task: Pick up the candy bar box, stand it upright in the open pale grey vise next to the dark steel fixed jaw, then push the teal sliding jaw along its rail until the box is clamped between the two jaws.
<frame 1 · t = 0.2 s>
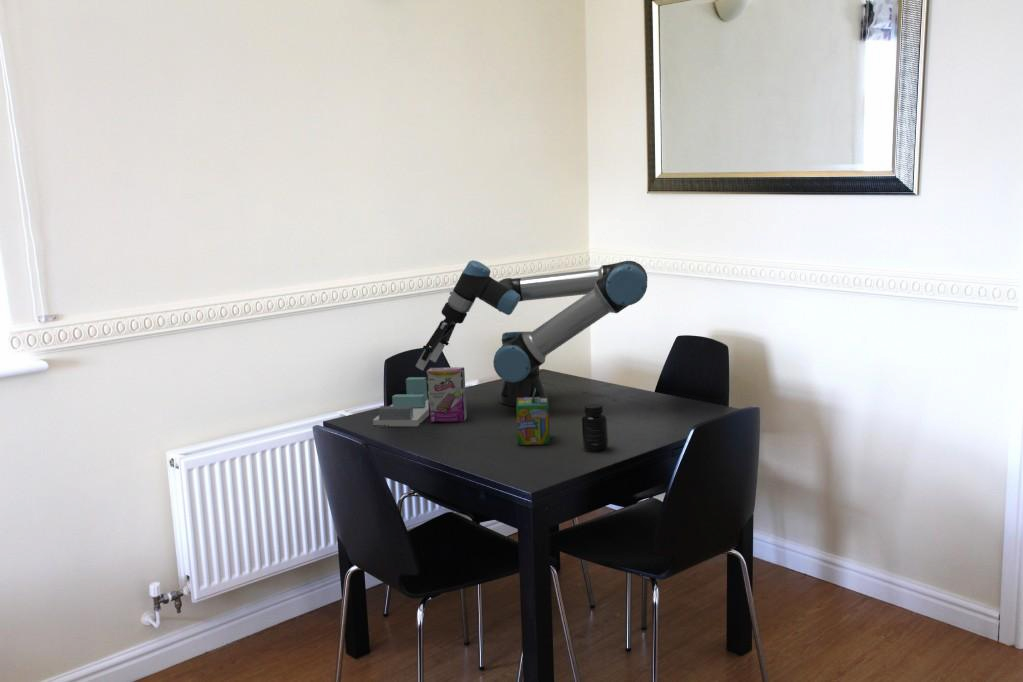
hand: (425, 364, 295), 16 cm above the table, tool tilted 30°, fingers open, 13 cm apart
supplement bottle: (595, 449, 251), on the table
candy bar box: (448, 421, 286), on the table
sliding jaw: (412, 392, 301), point 6 cm above the table, slide at 0.0 cm
chalk box: (533, 441, 261), on the table
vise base: (403, 418, 291), on the table
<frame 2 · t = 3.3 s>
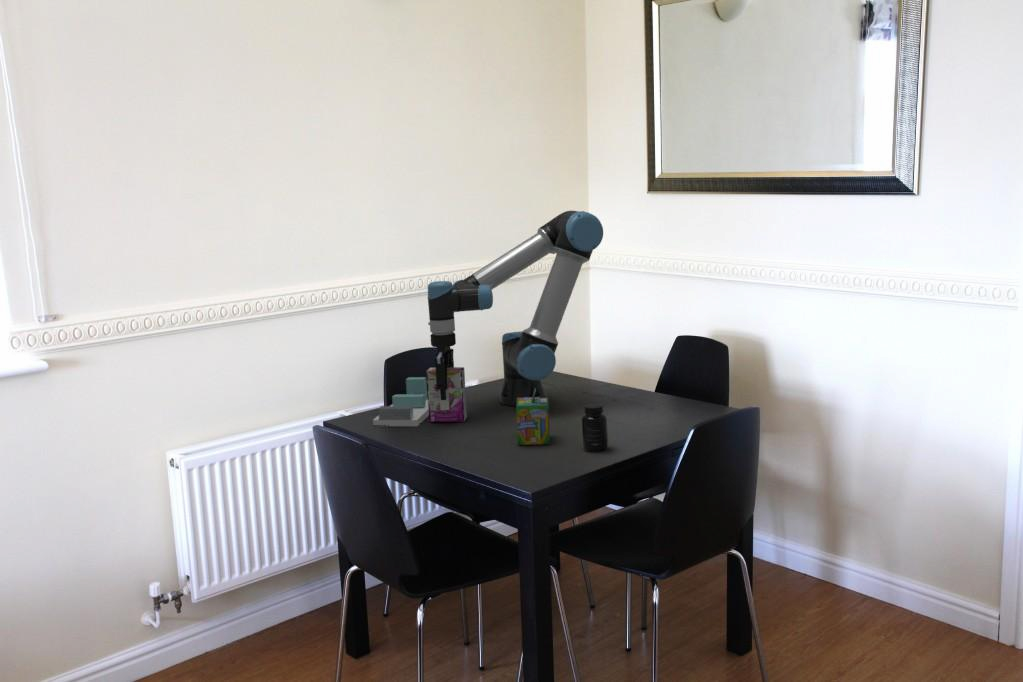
hand: (447, 407, 286), 4 cm above the table, tool pointing down, fingers closed on candy bar box, 5 cm apart
candy bar box: (448, 421, 286), on the table, touching gripper
everything else where it was.
when the fingers open (8 cm above the table, at t = 8.7 s): candy bar box drops 1 cm, resting on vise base.
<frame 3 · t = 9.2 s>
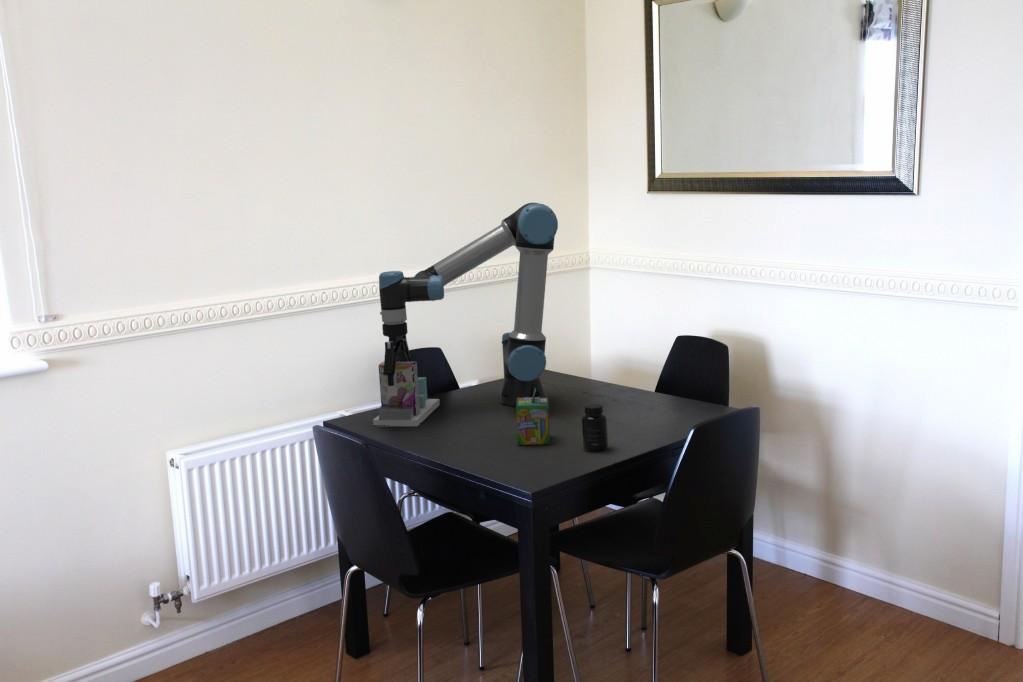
hand: (399, 390, 287), 10 cm above the table, tool pointing down, fingers open, 13 cm apart
candy bar box: (401, 415, 289), point 2 cm above the table, touching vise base
everything else where it was.
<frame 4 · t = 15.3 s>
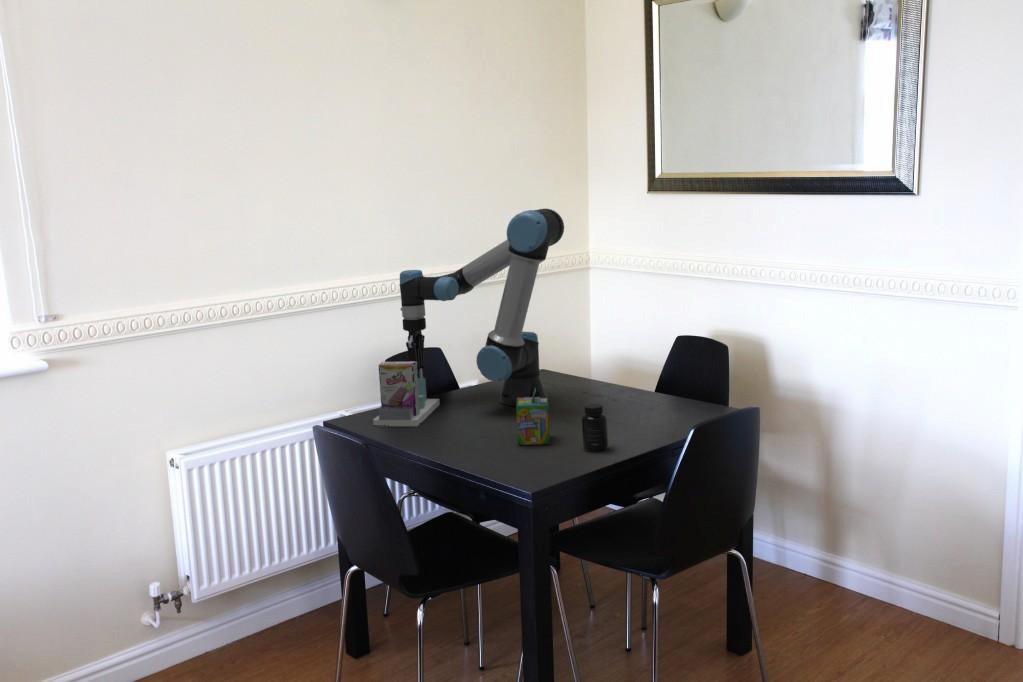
hand: (418, 388, 308), 5 cm above the table, tool pointing down, fingers closed
sliding jaw: (411, 392, 300), point 6 cm above the table, slide at 0.9 cm, touching gripper
everything else where it was.
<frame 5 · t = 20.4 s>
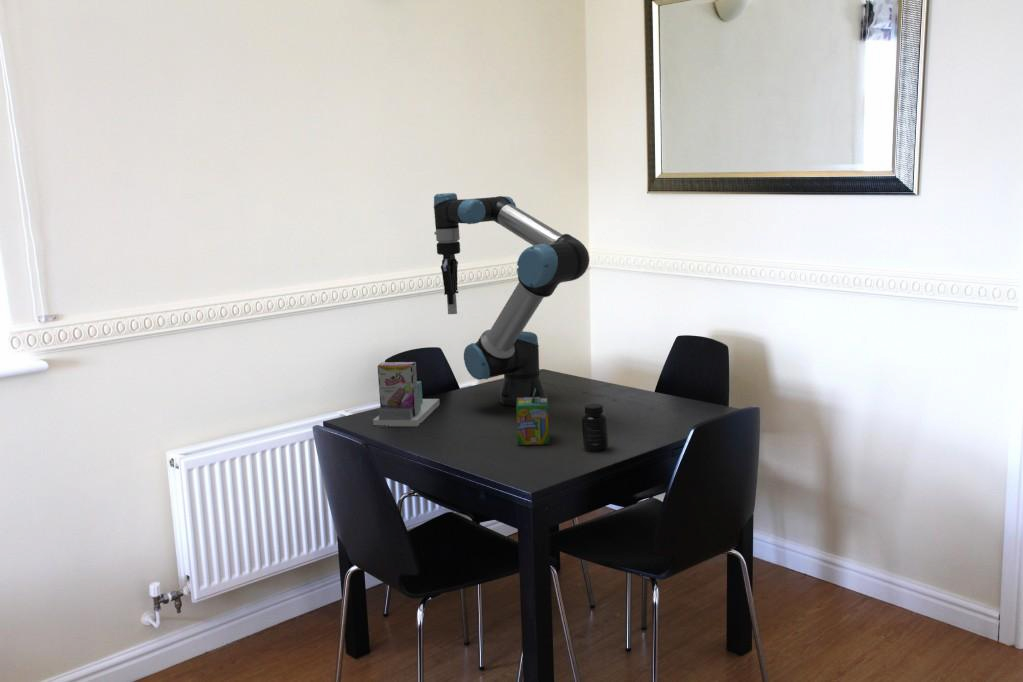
hand: (452, 313, 305), 29 cm above the table, tool pointing down, fingers closed
sliding jaw: (407, 396, 295), point 6 cm above the table, slide at 5.5 cm
everything else where it was.
at the end: sliding jaw slide at 5.5 cm; candy bar box 0.5 cm from the target spot on the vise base, point 1.8 cm above the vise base's base; candy bar box tilted 0° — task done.
